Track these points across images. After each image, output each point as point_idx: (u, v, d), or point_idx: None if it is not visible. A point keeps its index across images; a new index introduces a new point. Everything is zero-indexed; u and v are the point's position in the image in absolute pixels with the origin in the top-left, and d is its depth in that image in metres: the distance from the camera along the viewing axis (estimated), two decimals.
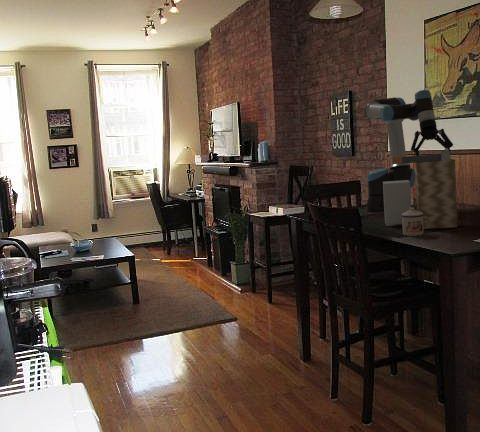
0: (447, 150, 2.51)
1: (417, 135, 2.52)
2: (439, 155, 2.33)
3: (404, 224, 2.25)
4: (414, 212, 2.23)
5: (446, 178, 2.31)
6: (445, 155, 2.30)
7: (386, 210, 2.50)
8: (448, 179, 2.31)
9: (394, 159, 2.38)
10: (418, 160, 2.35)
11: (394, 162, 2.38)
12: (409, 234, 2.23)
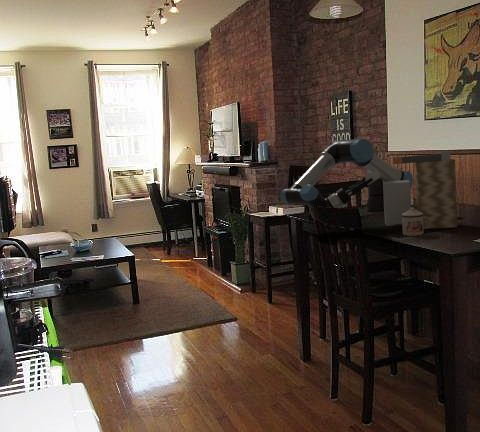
0: (367, 175, 2.50)
1: (350, 189, 2.39)
2: (439, 155, 2.33)
3: (404, 224, 2.25)
4: (414, 212, 2.23)
5: (446, 178, 2.31)
6: (445, 155, 2.30)
7: (386, 210, 2.50)
8: (448, 179, 2.31)
9: (394, 159, 2.38)
10: (418, 160, 2.35)
11: (394, 162, 2.38)
12: (409, 234, 2.23)
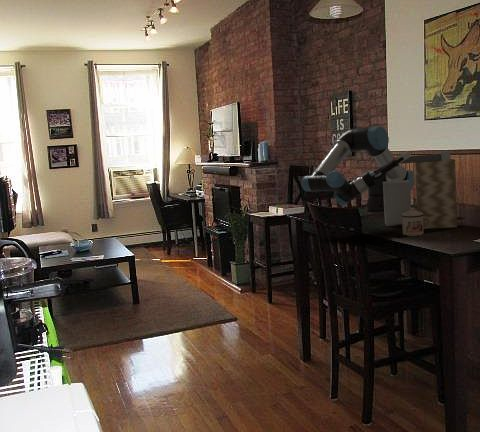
0: None
1: (379, 170, 2.36)
2: (439, 155, 2.33)
3: (404, 224, 2.25)
4: (414, 212, 2.23)
5: (446, 178, 2.31)
6: (445, 155, 2.30)
7: (386, 210, 2.50)
8: (448, 179, 2.31)
9: (394, 159, 2.38)
10: (418, 160, 2.35)
11: None
12: (409, 234, 2.23)
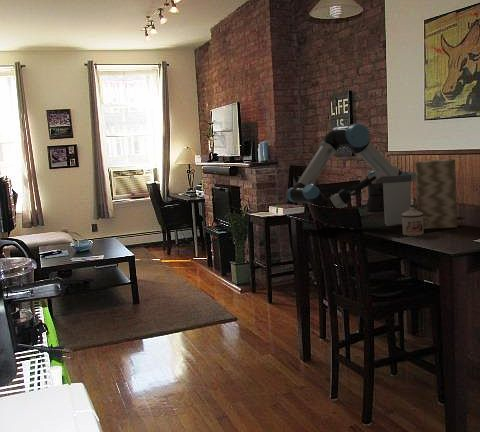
0: (370, 175, 2.57)
1: (353, 188, 2.52)
2: (410, 176, 2.49)
3: (404, 224, 2.25)
4: (414, 212, 2.23)
5: (446, 178, 2.31)
6: (415, 176, 2.46)
7: (386, 210, 2.50)
8: (448, 179, 2.31)
9: None
10: (390, 180, 2.51)
11: None
12: (409, 234, 2.23)
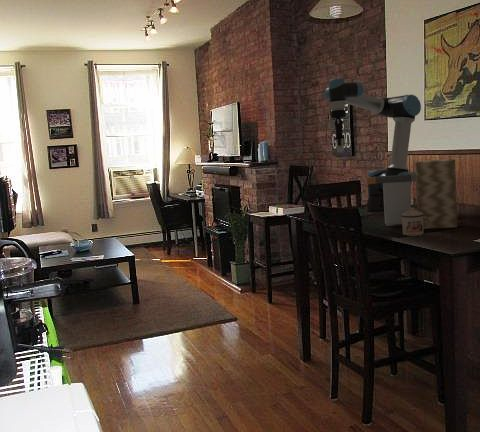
0: None
1: (340, 123, 2.60)
2: (410, 176, 2.49)
3: (404, 224, 2.25)
4: (414, 212, 2.23)
5: (446, 178, 2.31)
6: (415, 176, 2.46)
7: (386, 210, 2.50)
8: (448, 179, 2.31)
9: (368, 179, 2.53)
10: (390, 180, 2.51)
11: (368, 182, 2.54)
12: (409, 234, 2.23)
